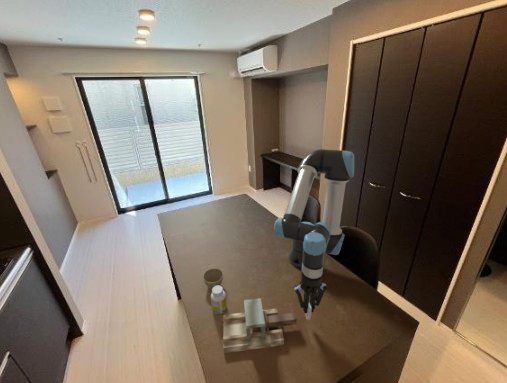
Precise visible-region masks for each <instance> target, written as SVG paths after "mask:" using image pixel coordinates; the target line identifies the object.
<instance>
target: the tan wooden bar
mask: <svg viewBox="0 0 507 383" xmlns="http://www.w3.org/2000/svg"><path fill="white" fill-rule="evenodd" d="M263 314H264V320H265V331H268V328H270V329H271V328H277V327H280V326H281V327H287V326H294V325H297V321H298V320H297V316H296V313H295V312H289V313H283V314H278V315H272V316H266V311H263ZM252 331H253V332H260V331H261V327H256V328H252Z"/></svg>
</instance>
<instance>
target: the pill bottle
mask: <svg viewBox="0 0 507 383" xmlns="http://www.w3.org/2000/svg"><path fill="white" fill-rule="evenodd" d="M226 294H227V293H226V292H225V291H224V289H223V286H221V285H220V286H219V285H218V286H215V287H213V289H211V294H210V301H211V302H210V303H211V309H212V311H213V313H214V314H216V315H221V314H223V313H225V312H226V310H227V307H228V305H227V297H226V296H227V295H226Z"/></svg>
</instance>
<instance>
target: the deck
mask: <svg viewBox="0 0 507 383" xmlns="http://www.w3.org/2000/svg"><path fill="white" fill-rule="evenodd" d="M243 306H244V307H243V308H244V311H243V312H237V313H235V312H234V313H227V314H223V317H222V319H223V320H222V321H223V325H222V326H223V331H222V332H223V335H222V342H223V344H222V346H223V347H222V348H223V353H224V354H227V353H229V354H230V353H236V352H242V351H243V352H244V351H250V350H256V349H257V350H258V349H265V348H271V347H279V346H280V347H281V346H284V345H285V338H284V335H283V329H282V326H280V327H276V329H272V330H270V329H269V328H268V331H265V320H264V314H263V311H266V316H272V315H279V310H278V309H277V308H270V309H269V308H268V309H263V304H262V298H260V297H259V298H252V299H244V300H243ZM256 327H261V331H260V332H253V331H252V328H256Z"/></svg>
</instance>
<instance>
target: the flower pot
mask: <svg viewBox="0 0 507 383" xmlns="http://www.w3.org/2000/svg"><path fill="white" fill-rule="evenodd" d="M202 279H203V282H204V284H205V285H206V287H207V288H209V289H210V290H212V289H213V287H215V286H218V285H219V286H221V284H222V282H223V279H224V271H222V270H221V269H220V268H210V269H207V270H205V272H204V273H203V275H202Z"/></svg>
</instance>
